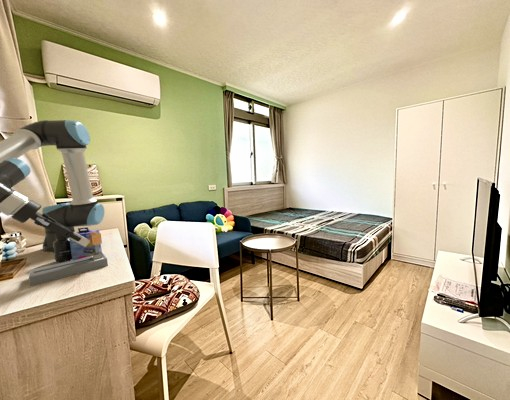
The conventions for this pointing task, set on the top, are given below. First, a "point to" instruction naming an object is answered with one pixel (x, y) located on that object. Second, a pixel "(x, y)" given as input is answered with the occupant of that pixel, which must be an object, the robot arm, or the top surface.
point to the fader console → (65, 269)
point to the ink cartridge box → (81, 251)
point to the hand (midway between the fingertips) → (87, 243)
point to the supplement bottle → (62, 249)
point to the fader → (96, 244)
